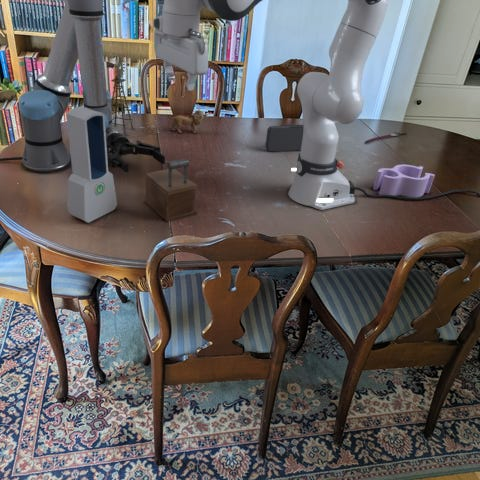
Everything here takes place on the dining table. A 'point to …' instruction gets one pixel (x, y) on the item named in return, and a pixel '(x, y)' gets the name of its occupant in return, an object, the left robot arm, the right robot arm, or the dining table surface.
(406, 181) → the clip
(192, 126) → the lion figurine
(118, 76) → the miniature windmill
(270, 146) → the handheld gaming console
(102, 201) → the electronic device
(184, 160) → the lid
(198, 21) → the right robot arm
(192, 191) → the chest
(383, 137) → the sword
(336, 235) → the dining table surface
